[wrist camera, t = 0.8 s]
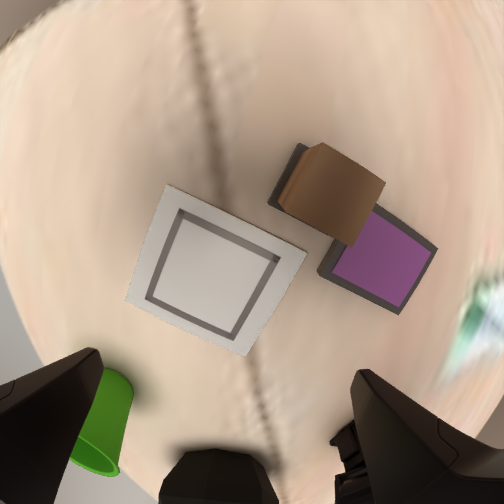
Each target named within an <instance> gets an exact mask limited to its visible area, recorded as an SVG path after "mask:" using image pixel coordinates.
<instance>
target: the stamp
mask: <svg viewBox="0 0 504 504" xmlns="http://www.w3.org/2000/svg"><path fill="white" fill-rule="evenodd" d="M385 184H386V182H384V181H383V180H382V179H380V178H379V177H377V176H376V175H374V174H373V173H371V172H370V171H368V170H367V169H365V168H364V167H362V166H361V165H359V164H358V163H356V162H354V161H353V160H351V159H350V158H348V157H346V156H345V155H343V154H341V153H340V152H338V151H336V150H335V149H333V148H331V147H330V146H328V145H326V144H325V143H323V142H322V143H320V144H318V145H316V146H314V147H312V148H308V147H307V146H305V145H303V144H301V143H299V144H298V145H297V147H296V149H295V150H294V152H293V154H292V156H291V158H290V160H289V162H288V164H287V166H286V168H285V170H284V172H283V173H282V175H281V177H280V179H279V181H278V183H277V185H276V187H275V189H274V191H273V193H272V195H271V197H270V199H269V201H268V204H269V205H271V206H273V207H275V208H277V209H279V210H280V211H282V212H284V213H286V214H288V215H290V216H292V217H294V218H296V219H298V220H300V221H302V222H303V223H305V224H307V225H309V226H311V227H313V228H315V229H317V230H318V231H320V232H322V233H324V234H326V235H329V236H331V237H333V238H335V239H337V240H339V241H340V242H342V243H344V244H346V245H347V246H349V247H351V248H352V247H353V245H354V243H355V241H356V239H357V238H358V236H359V234H360V232H361V230H362V228H363V227H364V225H365V223H366V221H367V219H368V217H369V215H370V213H371V212H372V210H373V208H374V206H375V204H376V202H377V200H378V198H379V196H380V194H381V192H382V190H383V188H384V186H385Z"/></svg>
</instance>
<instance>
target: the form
mask: <svg viewBox="0 0 504 504" xmlns="http://www.w3.org/2000/svg"><path fill="white" fill-rule="evenodd" d="M307 254H308V253H307V252H305V251H303V250H301V249H299V248H298V247H296V246H294V245H292V244H290V243H288V242H286V241H284V240H282V239H280V238H278V237H276V236H274V235H272V234H270V233H268V232H266V231H264V230H262V229H260V228H258V227H256V226H254V225H252V224H249V223H247V222H245V221H243V220H241V219H239V218H237V217H235V216H233V215H231V214H229V213H227V212H225V211H223V210H221V209H219V208H217V207H214V206H212V205H210V204H208V203H206V202H204V201H202V200H200V199H198V198H196V197H193V196H191V195H189V194H187V193H185V192H183V191H181V190H179V189H176V188H174V187H172V186H170V185H168V184H167V185H166V187H165V189H164V191H163V194H162V196H161V199H160V201H159V204H158V206H157V209H156V211H155V214H154V216H153V219H152V221H151V224H150V227H149V229H148V232H147V235H146V238H145V240H144V243H143V246H142V249H141V252H140V255H139V258H138V261H137V264H136V267H135V270H134V273H133V276H132V279H131V283H130V286H129V289H128V293H127V296H126V299H125V301H127V302H129V303H131V304H133V305H134V306H136V307H138V308H140V309H142V310H144V311H146V312H148V313H150V314H151V315H153V316H155V317H157V318H159V319H161V320H163V321H165V322H167V323H169V324H171V325H173V326H176V327H178V328H180V329H182V330H184V331H186V332H188V333H190V334H193V335H195V336H197V337H199V338H201V339H204V340H206V341H208V342H210V343H213V344H215V345H217V346H220V347H222V348H224V349H227V350H229V351H232V352H234V353H237V354H239V355H241V356H244V357H245V356H246V355H247V353H248V352H249V350H250V348H251V347H252V345H253V344H254V342H255V341H256V339H257V337H258V336H259V334H260V333H261V331H262V329H263V328H264V326H265V325H266V323H267V321H268V320H269V318H270V316H271V315H272V313H273V312H274V310H275V308H276V307H277V305H278V303H279V302H280V300H281V298H282V297H283V295H284V293H285V292H286V290H287V288H288V286H289V285H290V283H291V281H292V280H293V278H294V276H295V274H296V273H297V271H298V269H299V268H300V266H301V264H302V262H303V261H304V259H305V257H306V255H307Z"/></svg>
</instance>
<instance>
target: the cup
mask: <svg viewBox="0 0 504 504" xmlns="http://www.w3.org/2000/svg"><path fill="white" fill-rule="evenodd" d="M132 399H133V389H132V386H131V384H130V383H129V382H128V380H127V379H126V378H125V377H124V376H122V375H121V374H119V373H118V372H116V371H114V370H111V369H106V368H105V369H104V372H103V375H102V378H101V381H100V384H99V387H98V390H97V393H96V396H95V399H94V401H93V404H92V407H91V409H90V411H89V413H88V416H87V418H86V420H85V422H84V425H83V427H82V429H81V431H80V434H79V436H78V439H77V441H76V443H75V446H74V448H73V451H72V453H71V456H70V458H69V460H71V461H73V462H74V463H76V464H77V465H79V466H81V467H83V468H84V469H87V470H89V471H91V472H93V473H96V474H99V475H103V476H107V477H114V476H117V475H118V474H119V473H120V470H119V467H118V461H119V456H120V451H121V446H122V441H123V437H124V432H125V428H126V423H127V419H128V415H129V411H130V407H131V403H132Z"/></svg>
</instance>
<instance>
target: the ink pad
mask: <svg viewBox="0 0 504 504" xmlns="http://www.w3.org/2000/svg"><path fill="white" fill-rule="evenodd" d="M437 250H438V248H437V247H436V246H434V245H433V244H432V243H430V242H429V241H428V240H427V239H425V238H424V237H423V236H421V235H420V234H419V233H417V232H416V231H415V230H413V229H412V228H411V227H409V226H408V225H406V224H405V223H404V222H402V221H401V220H399V219H398V218H397V217H395V216H394V215H392V214H391V213H389V212H388V211H387V210H385V209H384V208H382V207H381V206H379V205H378V204H375V206H374V208H373V210H372V212H371V213H370V215H369V217H368V219H367V221H366V223H365V225H364V227H363V228H362V230H361V232H360V234H359V236H358V238H357V239H356V241H355V243H354V245H353V247H352V248H351V247H349V246H347V245H346V244H344V243H342V242H340V241H339V240H337V239H335V240H334V242H333V244H332V245H331V247H330V249H329V251H328V252H327V254H326V256H325V258H324V259H323V261H322V263H321V264H320V266H319V268H318V270H317V273H318V274H319V276H321V277H323V278H325V279H327V280H329V281H331V282H333V283H335V284H337V285H339V286H341V287H343V288H345V289H347V290H349V291H351V292H353V293H355V294H357V295H359V296H361V297H363V298H365V299H367V300H369V301H371V302H373V303H375V304H377V305H379V306H381V307H383V308H385V309H387V310H389V311H391V312H393V313H395V314H397V315H399V314H400V312H401V311H402V309H403V308H404V306H405V305H406V303H407V302H408V300H409V299H410V297H411V295H412V294H413V292H414V290H415V289H416V287H417V286H418V284H419V282H420V281H421V279H422V277H423V275H424V274H425V272H426V270H427V268H428V267H429V265H430V263H431V261H432V259H433V257H434V255H435V254H436V252H437Z"/></svg>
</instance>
